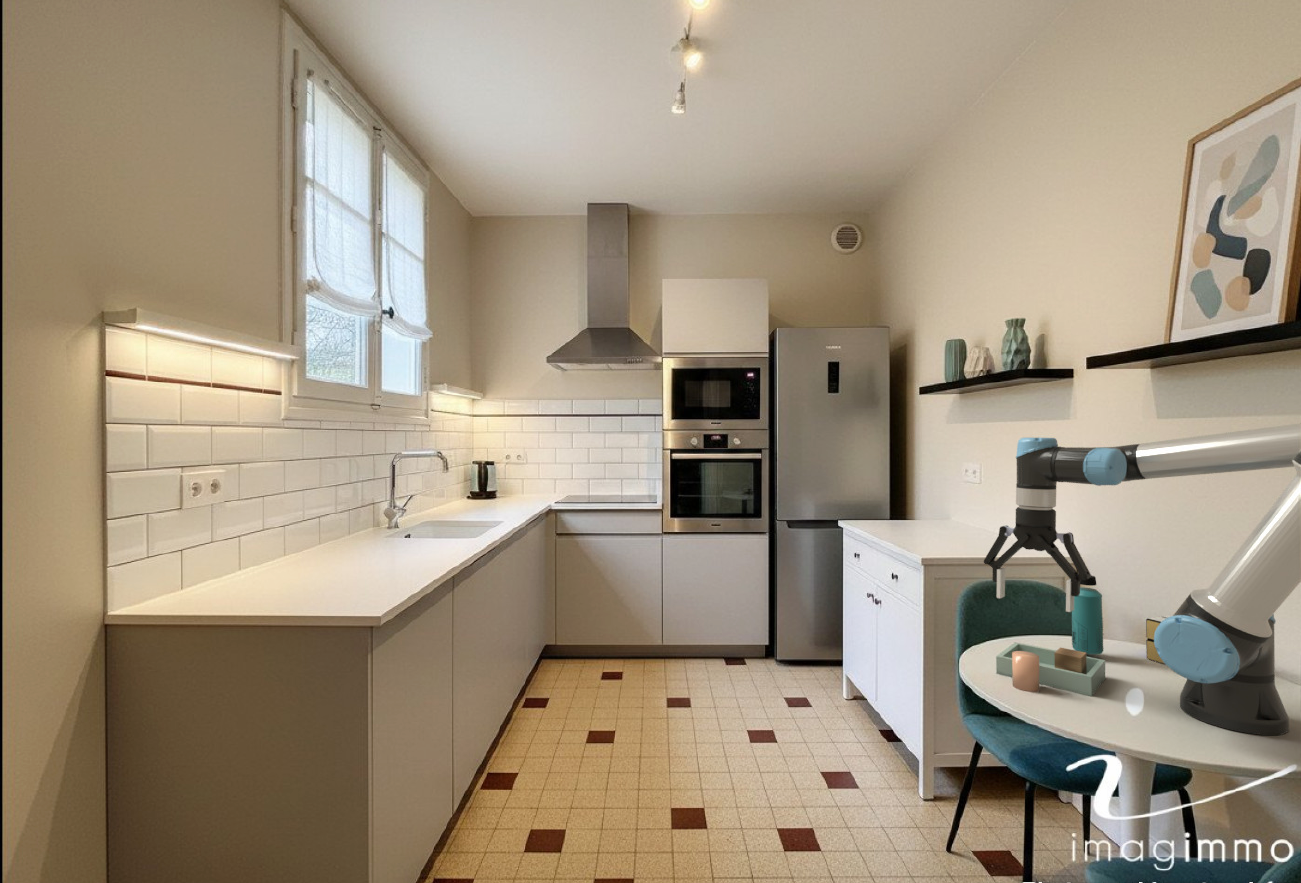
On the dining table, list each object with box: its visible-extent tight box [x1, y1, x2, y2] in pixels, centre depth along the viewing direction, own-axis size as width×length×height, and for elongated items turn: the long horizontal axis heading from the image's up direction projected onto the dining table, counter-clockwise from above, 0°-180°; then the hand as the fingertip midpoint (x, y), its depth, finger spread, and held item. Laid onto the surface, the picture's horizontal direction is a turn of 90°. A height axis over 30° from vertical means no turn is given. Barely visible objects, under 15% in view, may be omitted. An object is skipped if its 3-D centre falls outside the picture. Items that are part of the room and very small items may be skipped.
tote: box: [995, 642, 1106, 697], centre depth 140 cm, size 18×14×4 cm
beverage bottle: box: [1070, 574, 1104, 655], centre depth 152 cm, size 6×7×20 cm
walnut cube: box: [1055, 647, 1088, 675], centre depth 139 cm, size 5×5×5 cm
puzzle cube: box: [1145, 614, 1174, 666], centre depth 147 cm, size 10×10×10 cm
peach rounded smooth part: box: [1011, 651, 1041, 693], centre depth 134 cm, size 5×5×7 cm
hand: (1034, 603), depth 136 cm, fingers open, 13 cm apart
